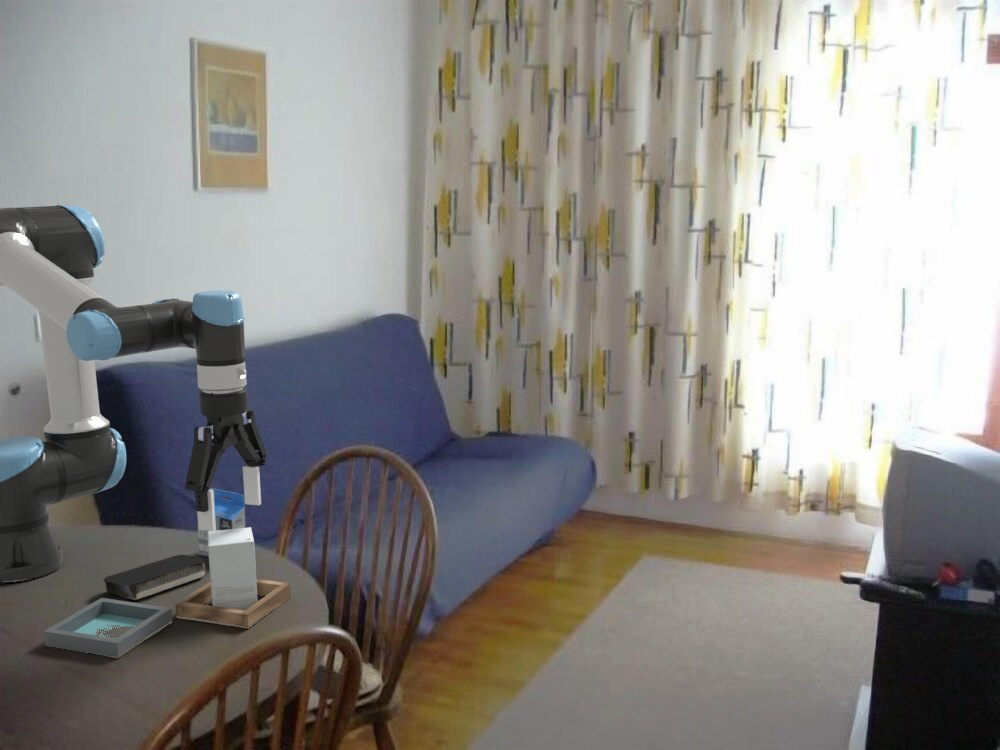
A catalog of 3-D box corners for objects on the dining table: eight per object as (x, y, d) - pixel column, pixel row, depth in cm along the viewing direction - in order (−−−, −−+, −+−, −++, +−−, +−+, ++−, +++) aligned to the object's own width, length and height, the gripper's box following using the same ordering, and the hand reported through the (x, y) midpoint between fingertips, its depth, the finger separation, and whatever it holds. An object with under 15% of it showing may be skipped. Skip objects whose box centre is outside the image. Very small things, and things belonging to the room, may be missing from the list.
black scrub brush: (128, 608, 180) (127, 587, 179) (101, 595, 185) (100, 574, 184) (211, 579, 192) (210, 560, 191) (183, 568, 197) (182, 549, 196)
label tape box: (197, 555, 202) (194, 492, 200) (213, 548, 206) (209, 486, 203) (233, 563, 198) (229, 500, 196) (248, 556, 202) (245, 493, 199)
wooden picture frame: (176, 618, 175) (175, 603, 174) (222, 587, 187) (221, 574, 187) (248, 629, 171) (247, 614, 170) (290, 597, 183) (290, 583, 182)
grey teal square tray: (45, 646, 165) (43, 631, 164) (102, 612, 177) (101, 597, 177) (118, 658, 161) (117, 643, 160) (172, 622, 173) (171, 608, 173)
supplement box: (256, 596, 183) (253, 526, 181) (258, 614, 176) (255, 541, 174) (211, 601, 181) (207, 530, 179) (211, 619, 174) (207, 545, 172)
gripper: (198, 406, 159) (207, 544, 163) (283, 375, 182) (289, 496, 186) (154, 403, 161) (165, 539, 165) (244, 373, 184) (251, 492, 188)
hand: (231, 516), depth 175 cm, fingers open, 13 cm apart
